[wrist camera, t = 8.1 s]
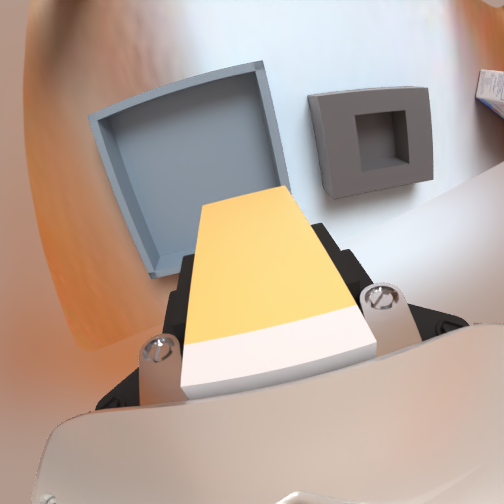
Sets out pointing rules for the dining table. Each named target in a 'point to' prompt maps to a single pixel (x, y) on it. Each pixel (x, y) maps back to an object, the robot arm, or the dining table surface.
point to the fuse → (265, 301)
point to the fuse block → (372, 138)
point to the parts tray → (188, 156)
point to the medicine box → (492, 90)
